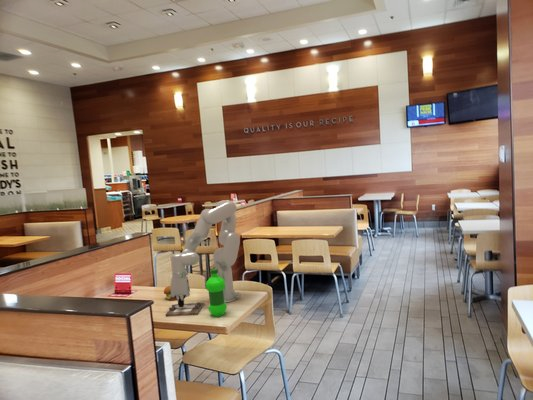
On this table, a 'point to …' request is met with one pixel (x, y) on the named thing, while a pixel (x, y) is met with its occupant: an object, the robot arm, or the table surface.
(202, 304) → the ticket board
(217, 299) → the plastic bottle
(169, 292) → the cheeseburger
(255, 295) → the table surface
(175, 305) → the hold down bar
